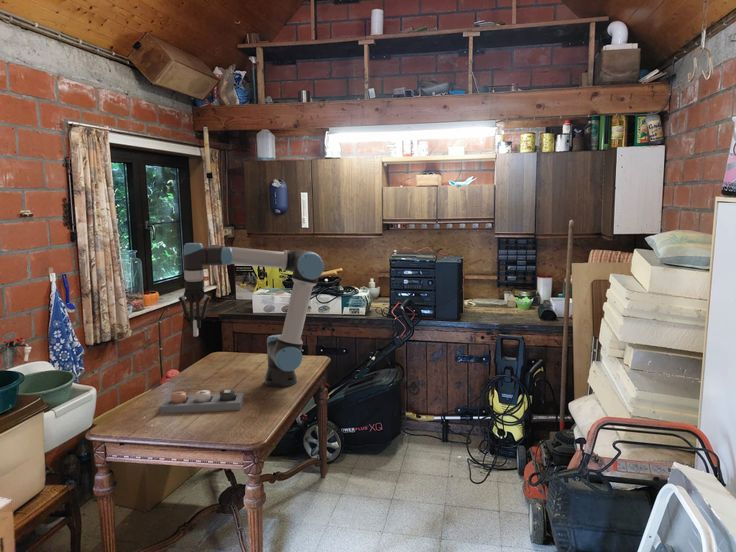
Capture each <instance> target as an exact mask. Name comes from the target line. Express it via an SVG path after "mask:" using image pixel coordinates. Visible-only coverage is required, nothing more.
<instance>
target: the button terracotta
mask: <svg viewBox="0 0 736 552" xmlns="http://www.w3.org/2000/svg"><path fill="white" fill-rule="evenodd" d="M186 395H187V392H186V391H183V390H180V391H173V392H172V393H171V394H170V396H171V403H172V404H182V403H185V402H186Z"/></svg>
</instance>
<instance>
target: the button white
mask: <svg viewBox="0 0 736 552" xmlns="http://www.w3.org/2000/svg"><path fill="white" fill-rule="evenodd" d="M210 394H211V390H208V389H204V390H203V389H202V390H199V391H196V392H195V394H194V395H196V402H197V403H201V402H209V401H210V400H211V395H210Z"/></svg>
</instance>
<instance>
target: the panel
mask: <svg viewBox="0 0 736 552" xmlns="http://www.w3.org/2000/svg"><path fill="white" fill-rule="evenodd" d="M244 394H245V393H244V392H235V400H233V401H220V393H210V395H211V400H210V401H209V402H201V403H197V402H196V394H191V395H190V394H189V395H187V394H186V402H185V403H182V404H172V403H171V395H169V396H166V398H165V399H164V401H163V402H162V404H161V405H160V407H159V409H160V415H164V414H182V413H201V412H204V413H205V412H217V411H219V412H220V411H221V412H222V411H236V410H237V411H239V410H242V406H243V403H244V400H245V398H244V397H245V395H244Z"/></svg>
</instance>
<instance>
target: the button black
mask: <svg viewBox="0 0 736 552" xmlns="http://www.w3.org/2000/svg"><path fill="white" fill-rule="evenodd" d="M235 393H236V392H235V389H233V388H225V389H222V390H220V391H219V394H220V401H233V400H235Z"/></svg>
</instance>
